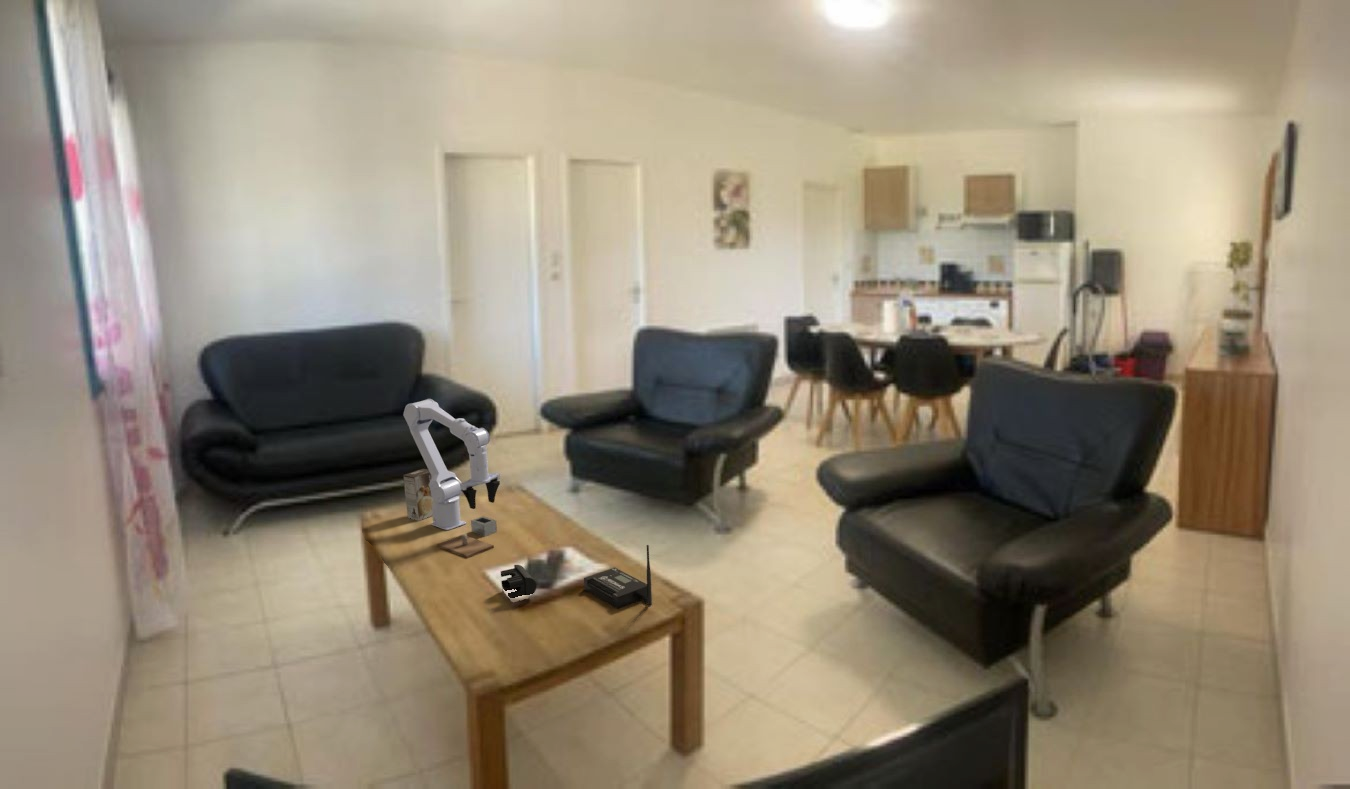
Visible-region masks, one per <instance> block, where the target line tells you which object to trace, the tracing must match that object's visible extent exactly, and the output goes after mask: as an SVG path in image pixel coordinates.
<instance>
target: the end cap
mask: <svg viewBox="0 0 1350 789" xmlns="http://www.w3.org/2000/svg"><path fill="white" fill-rule="evenodd" d="M507 576H510V577H507ZM500 577H501V578H503V577H507V578H506V579H504V580H501V581H500V582H501V588H502V590H503V589H504V590H505V591H507V590H512V589H514V590H515V589H516V590H517V591H515V592H511V593H508V596H509V597H510V598H515V597H518V596H522V595H530V594H533V593H534V594H535V592H536V590H537V582H536V580H535V578H534V577H533V576H531V574H530V573H529V572H528V571H527V570H526V568H525V567H524V566H522V565H520V564H513V568H510V569H505V570H501V571H500ZM534 594H533V595H534Z"/></svg>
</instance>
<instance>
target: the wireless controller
mask: <svg viewBox="0 0 1350 789" xmlns="http://www.w3.org/2000/svg"><path fill="white" fill-rule="evenodd" d="M649 549H650V546H649V544H646V582H643V581H642V580H639V579H638V578H636V577H634V576H632V575H630V574H628V573H626V572H624V571H622V570H621V569H618V568H616V567H612V568H609V569H606V570H604V571H600V572H598V573H595V574H592V575H589V576H586V577H584V578H583V588H584V590H585V592H588V593H590V594H591V595H593V596H595V597H597V598H598V599H600V600H602V601H603V602H605V603H607V604H608V605H610V606H612V607H613V608H615V609H617V610H620V609H623V608H625V607H627V606H630V605H632V604H636V603H638V602H641V601H642V602H645V603H646V604H647V605H648V606H652V605H653V602H652V600H653V594H652V576H651V575H652V573H651V564H650V563H651V562H650V550H649Z"/></svg>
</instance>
